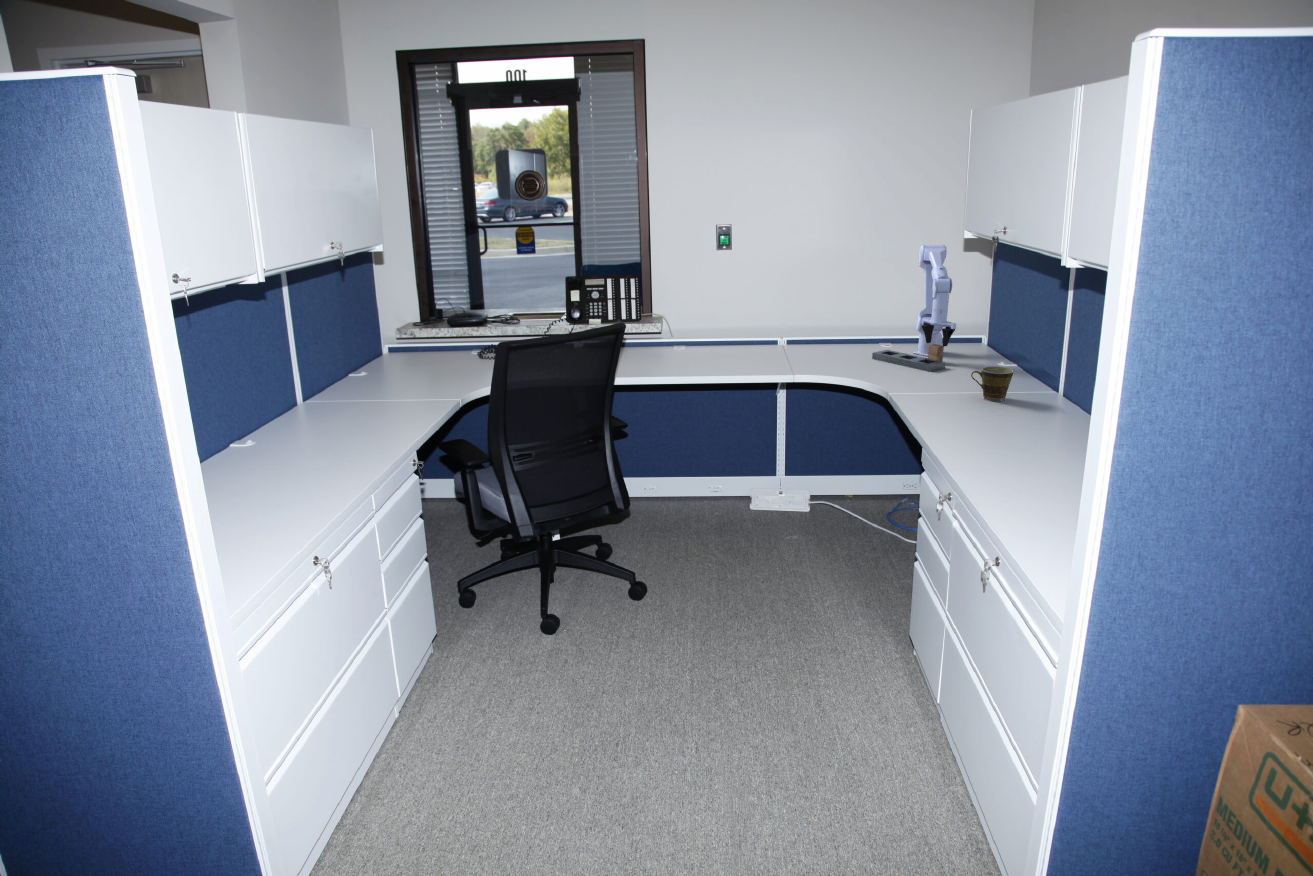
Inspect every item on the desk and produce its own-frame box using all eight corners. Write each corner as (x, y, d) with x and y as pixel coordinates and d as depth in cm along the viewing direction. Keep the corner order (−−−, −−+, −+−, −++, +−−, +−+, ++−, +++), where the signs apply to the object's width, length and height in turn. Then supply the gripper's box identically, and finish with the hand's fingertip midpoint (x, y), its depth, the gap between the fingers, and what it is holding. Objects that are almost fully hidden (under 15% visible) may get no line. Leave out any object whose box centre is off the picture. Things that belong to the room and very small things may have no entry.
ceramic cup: (1007, 395, 287) (1010, 367, 284) (1012, 403, 278) (1015, 374, 274) (966, 393, 290) (970, 365, 286) (970, 401, 280) (973, 372, 277)
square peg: (933, 361, 335) (935, 344, 333) (942, 363, 332) (944, 345, 330) (927, 362, 333) (929, 345, 331) (935, 364, 330) (937, 347, 328)
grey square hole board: (886, 355, 346) (887, 349, 345) (945, 368, 324) (945, 362, 323) (872, 358, 341) (872, 352, 340) (930, 371, 319) (931, 365, 318)
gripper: (917, 308, 329) (914, 342, 334) (949, 313, 318) (946, 348, 323) (929, 306, 333) (926, 340, 338) (961, 311, 322) (957, 346, 327)
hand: (936, 344), depth 330 cm, fingers open, 7 cm apart
